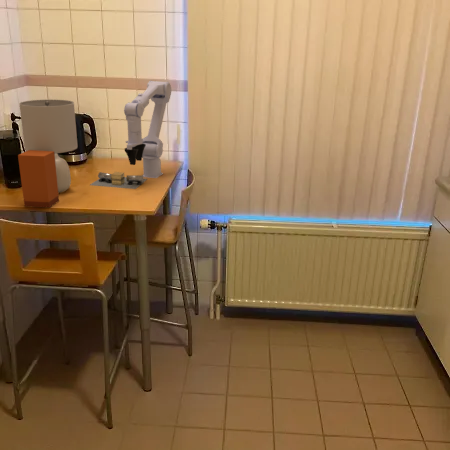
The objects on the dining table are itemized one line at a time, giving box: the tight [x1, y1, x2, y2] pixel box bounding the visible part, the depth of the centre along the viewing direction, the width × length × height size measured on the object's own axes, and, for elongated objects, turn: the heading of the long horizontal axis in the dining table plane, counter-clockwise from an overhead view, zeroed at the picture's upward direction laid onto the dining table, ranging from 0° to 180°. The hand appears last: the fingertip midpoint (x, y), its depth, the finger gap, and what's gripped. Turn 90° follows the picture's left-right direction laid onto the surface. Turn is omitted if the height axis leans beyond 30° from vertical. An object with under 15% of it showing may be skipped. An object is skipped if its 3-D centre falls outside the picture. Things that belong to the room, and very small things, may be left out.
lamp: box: [19, 99, 78, 194], centre depth 201 cm, size 20×20×37 cm
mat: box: [89, 176, 148, 190], centre depth 220 cm, size 16×21×1 cm
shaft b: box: [125, 174, 144, 186], centre depth 218 cm, size 7×4×4 cm, turn 94°
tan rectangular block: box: [110, 171, 126, 185], centre depth 217 cm, size 4×4×5 cm
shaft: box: [97, 171, 112, 183], centre depth 220 cm, size 7×4×4 cm, turn 64°
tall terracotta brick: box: [17, 150, 60, 209], centre depth 189 cm, size 10×9×20 cm
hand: (135, 162), depth 216 cm, fingers open, 7 cm apart
